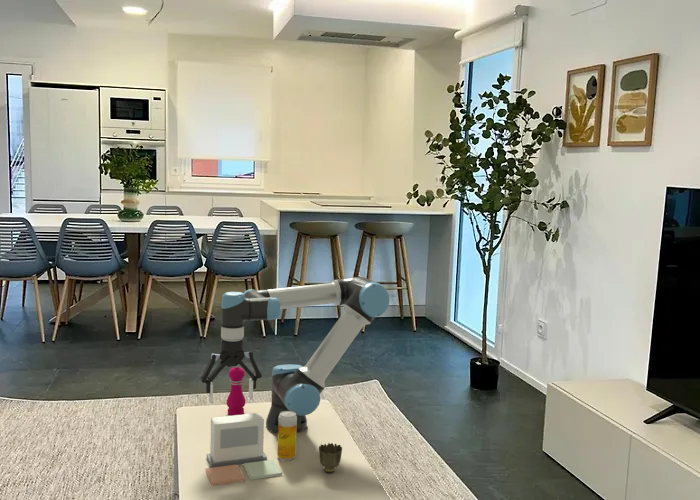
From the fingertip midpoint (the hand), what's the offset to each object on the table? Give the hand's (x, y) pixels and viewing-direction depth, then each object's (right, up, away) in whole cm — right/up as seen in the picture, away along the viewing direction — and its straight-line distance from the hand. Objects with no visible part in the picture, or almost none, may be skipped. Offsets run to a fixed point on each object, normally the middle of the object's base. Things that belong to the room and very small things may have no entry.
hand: (231, 400), depth 222 cm
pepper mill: (-4, -13, +34) cm, 36 cm away
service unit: (+3, -18, -7) cm, 19 cm away
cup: (+34, -20, -13) cm, 41 cm away
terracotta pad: (+1, -19, -19) cm, 27 cm away
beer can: (+19, -18, -4) cm, 27 cm away
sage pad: (+13, -19, -14) cm, 27 cm away
